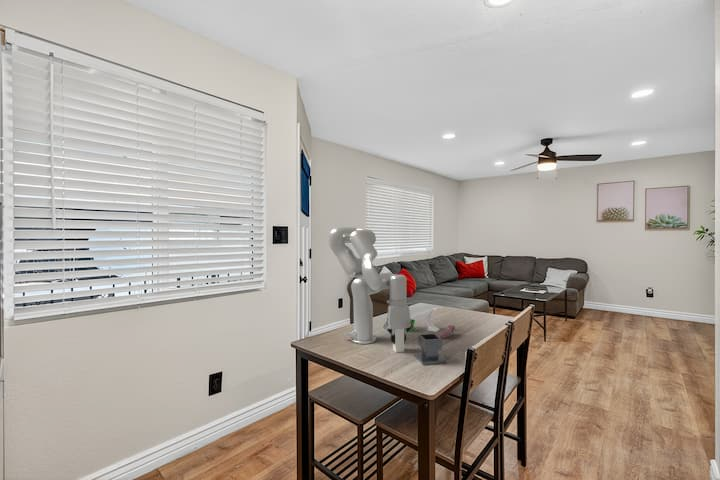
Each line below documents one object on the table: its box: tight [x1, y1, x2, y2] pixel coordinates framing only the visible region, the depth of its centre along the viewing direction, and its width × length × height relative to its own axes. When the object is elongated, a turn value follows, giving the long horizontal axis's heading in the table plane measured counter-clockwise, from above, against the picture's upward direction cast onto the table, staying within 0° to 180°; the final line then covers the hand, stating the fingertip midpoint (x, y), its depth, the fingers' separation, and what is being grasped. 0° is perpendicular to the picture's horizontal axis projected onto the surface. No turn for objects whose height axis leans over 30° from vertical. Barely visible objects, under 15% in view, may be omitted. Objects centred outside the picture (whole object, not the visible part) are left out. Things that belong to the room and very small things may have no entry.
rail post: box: [392, 328, 405, 353], centre depth 141 cm, size 4×4×12 cm
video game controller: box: [439, 324, 456, 339], centre depth 159 cm, size 10×5×7 cm, turn 148°
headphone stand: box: [425, 307, 440, 333], centre depth 170 cm, size 5×6×12 cm
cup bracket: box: [414, 332, 447, 366], centre depth 131 cm, size 10×10×10 cm
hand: (398, 342), depth 141 cm, fingers closed on rail post, 4 cm apart
